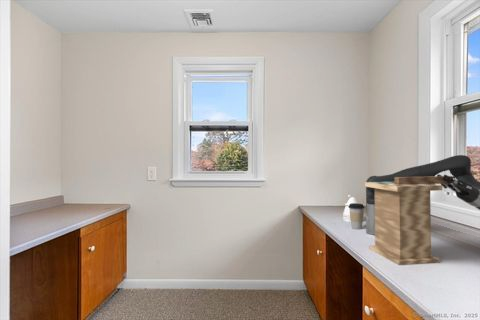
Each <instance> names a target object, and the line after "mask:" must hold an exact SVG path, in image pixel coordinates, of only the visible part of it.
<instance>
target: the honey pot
mask: <svg viewBox="0 0 480 320" xmlns="http://www.w3.org/2000/svg"><path fill="white" fill-rule="evenodd" d="M347 198H349V199H348V200H347V202H346V203H344V205H345V207H344V210H343V212H342V221H343V222H345V221H346V223H351V220H350V209H349V205H350V204H351V203H358V204H359V202H358V200H357V198H356V197H354V196H352V194H348V195H347ZM363 222H364V220H363V221H362V223H363Z"/></svg>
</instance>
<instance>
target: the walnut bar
mask: <svg viewBox="0 0 480 320" xmlns="http://www.w3.org/2000/svg"><path fill="white" fill-rule="evenodd" d="M443 176H444V175H441V176H437V175H435V176H427V177H394V180H395V184H397V185H409V184H436V185H441V184H449V183H448V182H446V181H445V180H443ZM448 176H449V177H451V178H452V179H456V178H455V176H453V175H448Z"/></svg>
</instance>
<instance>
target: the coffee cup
mask: <svg viewBox="0 0 480 320" xmlns="http://www.w3.org/2000/svg"><path fill="white" fill-rule="evenodd" d="M349 209H350V220H351V222H350V224H351V228H352V229H353V230H362V229H363V222H364V209H365V205H364V204H362V203H359V202H358V203H351V204H350V205H349ZM362 221H363V222H362Z"/></svg>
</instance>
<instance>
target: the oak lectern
mask: <svg viewBox="0 0 480 320" xmlns="http://www.w3.org/2000/svg"><path fill="white" fill-rule="evenodd" d="M364 186H365V188H366V187H372V188H374V190H375V235H374V245H368V250H371V252H374V253H376V254H378V255H379V256H382V257H383V258H385V259H387V260H389V261H391V262H392V263H394V264H397V265H398V266H403V265H420V264H421V265H422V264H436V263H437V264H438V263H440V258H438V257H435V256H434V255H432V230H431V229H432V226H431V221H432V217H431V215H432V214H431V210H432V209H431V191H435V192H436V191H443V186H442V185H441V184H409V185H397V184H395V182H366V181H365V182H364Z"/></svg>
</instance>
